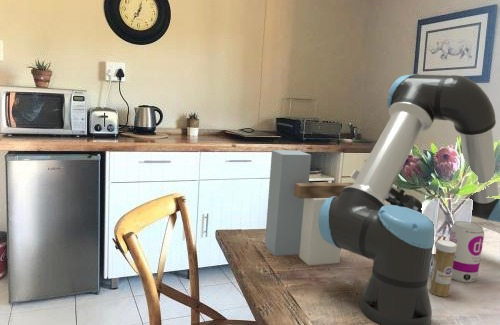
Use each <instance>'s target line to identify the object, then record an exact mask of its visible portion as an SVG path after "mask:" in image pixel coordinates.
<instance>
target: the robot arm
mask: <svg viewBox="0 0 500 325" xmlns="http://www.w3.org/2000/svg"><path fill="white" fill-rule="evenodd" d="M386 100H387V101H386V103H387V105H386V106H387V109H388V114H389V119H388V122H387V124H386V125H385V127H384V129H383V131H382V132H381V134H380V136H379V137H378V139H377V141H376V143H375V145H374V146H373V148H372V150H371V151H370V154H369V155H368V157H367V159H366V161H365V162H364V164H363V165H362V168H361V169H360V171H359V170H357V169H354V170H353V172H352V173H351V175H350V176H349V177H350V178H351V179H353V181H354V182H352V183H353V185H352V186H347V187H345V188H344V189H343V190H342V192H341V194H340V196H339V197H337V196H336V197H335V196H334V197H330V198H327V199H326V200H325V202H324V203H323V205H322V207H321V210H320V213H319V220H318V222H319V231H320V234H321V236H322V238H323V239H324V240H325V241H326V242H328V243H330V244H332V245H334V246H336V247H337V248H341V250H346V251H347V252H351V253H352V254H356V255H358V256H361V257H364V258H367V259H369V260H372V264H373V265H372V272H371V276H370V278H369V280H368V282H367V283H366V285H365V288H364V289H363V292H362V294H361V296H360V304H359V307H360V310H361V311H362V313H363V314H364V315H365V316H366V317H367V318H369V319H370V320H372V321H373V322H375V323H377V324H379V325H430V324H431V322H432V315H433V310H432V305H431V298H430V296H429V291H428V279H429V276H430V275H429V274H430V268H431V262H432V254H433V248H434V245H435V240H434V224H433V222H432V221H431V220H430V219H429V218H428V217H427V216H425V215H424V214H422V210H421V208H422V203H423V202H422V201H420V200H419V199H418V198H416V197H415V196H413V195H411V194H405V193H406V192H405V190H404V189H402V188H401V189H400V190H399V189H398V188H396V187H395V186H394V183H395V182H396V180H397V178H398V176H399V174H400V172H401V171H402V169H403V167H404V165H405V164H406V160H407V159H408V157H409V156H410V154H411V152H412V150H413V148H414V145H415V144H416V142H417V140H418V138H419V137H420V135H421V132H425V131H427V130H429V129H430V128H431V126H432V124H433V123H434V121H435V120H438V121H450V122H451V123H453V126H454V129H455V132H456V133H458V134H459V136H460V142H461V148H462V155H463V160H464V159H465V161H466V162H467V164H468V165H469V166H470V168H471V170H472V171H473V172H474V173H475V174H476V175H477V176H478V182H479V183H485V182H488V181H489V180H491V178H492V177H493V174H494V170H495V165H496V156H495V147H494V137H493V136H494V135H493V129H494V128H495V126H496V114H495V113H496V112H495V109H494V107H493V104H492V102H491V99H490V98H489V96H488V95H487V94H486V92H485V91H484V90H483V88H482V87H480V86H479V85H478V84H477V83H476V82H475V81H473V80H472V79H470V78H468V77H466V76H462V75H458V74H457V75H456V74H455V75H454V74H451V75H448V74H447V75H442V74H419V73H413V74H404V75H402V76H399V77H398V78H397V79H396V80H395V81H394V82H393V83H392V85H391V86H390V89H389V91H388V97H387V99H386ZM488 186H489V187H488ZM488 186H486V189H485V188H484V190H481V191H480V192H476V193H474V194H473V195H471V196H470V197H469V198H470V199H472V200H473V210H472V216H471V217H473V218H474V217H475V218H479V219H482V220H486V221H489V222H490V221H491V222H497V223H500V199H494V198H486V197H488V196H489V197H492V196H498V195H499V188H498V187H499V186H498V181H497V182H494V183H492V184H490V185H488ZM385 202H387V203H389V204H385Z"/></svg>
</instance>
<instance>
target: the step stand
mask: <svg viewBox="0 0 500 325" xmlns="http://www.w3.org/2000/svg"><path fill="white" fill-rule="evenodd" d="M311 161H312V154H310V153H307V152H304V151H301V150H279V149H278V150H277V149H276V150H275V149H274V150H273V149H272V150H271V159H270V170H269V171H270V172H269V183H268V185H269V186H268V199H267V209H266V225H265V237H264V238H265V240H264V247H265V248H266V249H267V250H268V251H269V252H270V253H271V255H273V256H275V257H277V256H278V257H280V256H292V255H296V256H297V255H299V256H298V257H299V258H300V260H302V261H303V262H304V264H306V265H307V266H317V265H329V264H331V265H332V264H340V261H341V252H342V248H337V247H336V246H334V245H332V244H330V243H328V242H326V241H325V240H324V239H323V238H322V236H321V234H320V231H319V222H318V220H319V213H320V210H321V207H322V205H323V203H324V202H325V200H326V199H327V198H305V199H299V198H297V197H296V196H294V189H295V183H310V174H311V163H312V162H311Z"/></svg>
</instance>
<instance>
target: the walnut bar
mask: <svg viewBox="0 0 500 325" xmlns="http://www.w3.org/2000/svg"><path fill="white" fill-rule="evenodd" d="M353 183H354V182H309V183H295V189H294V196H296V197H297V198H299V199H305V198H330V197H334V196H335V197H336V196H337V197H339V196H340V194H341V192H342V190H343V189H344V188H345V187H347V186H352V185H353Z"/></svg>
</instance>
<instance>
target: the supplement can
mask: <svg viewBox="0 0 500 325" xmlns="http://www.w3.org/2000/svg"><path fill="white" fill-rule="evenodd" d="M451 225H452V227H451V231H450V237H449V238H448V239H449V240H448V241H451V242H454V243H455V244H456V245H457V247H456V252H455V254H454V261H453V269H452V277H451V280H454V281H457V282H459V283H460V282H461V283H467V282H470V283H473V282H475V281H476V280H478V275H479V269H480V264H481V257H482V251H483V244H484V239H485V231H484V228H483V226H481V225H480V224H477V223H473V222H470V221H463V220H458V221H454V223H453V224H451Z"/></svg>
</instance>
